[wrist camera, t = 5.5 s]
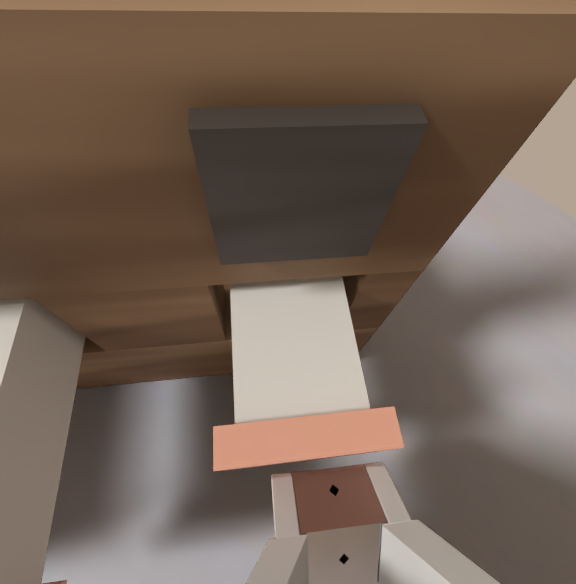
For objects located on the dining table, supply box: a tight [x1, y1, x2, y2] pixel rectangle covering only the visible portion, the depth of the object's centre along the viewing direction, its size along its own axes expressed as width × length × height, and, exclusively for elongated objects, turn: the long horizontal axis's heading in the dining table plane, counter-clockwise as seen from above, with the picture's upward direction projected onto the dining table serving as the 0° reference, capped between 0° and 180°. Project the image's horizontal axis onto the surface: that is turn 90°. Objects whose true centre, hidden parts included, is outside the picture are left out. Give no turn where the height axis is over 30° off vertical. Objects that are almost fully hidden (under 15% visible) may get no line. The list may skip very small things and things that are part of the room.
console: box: [0, 0, 576, 388], centre depth 10 cm, size 6×23×14 cm, turn 96°
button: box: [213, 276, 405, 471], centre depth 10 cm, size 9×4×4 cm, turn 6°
